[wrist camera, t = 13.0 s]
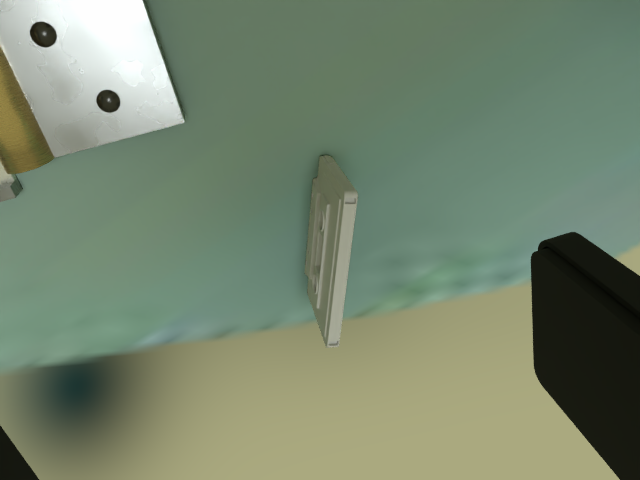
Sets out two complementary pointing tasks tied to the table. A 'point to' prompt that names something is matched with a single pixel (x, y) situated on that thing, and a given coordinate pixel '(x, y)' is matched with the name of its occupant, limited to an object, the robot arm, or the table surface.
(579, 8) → the table surface
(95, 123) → the hinge base
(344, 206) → the cassette
